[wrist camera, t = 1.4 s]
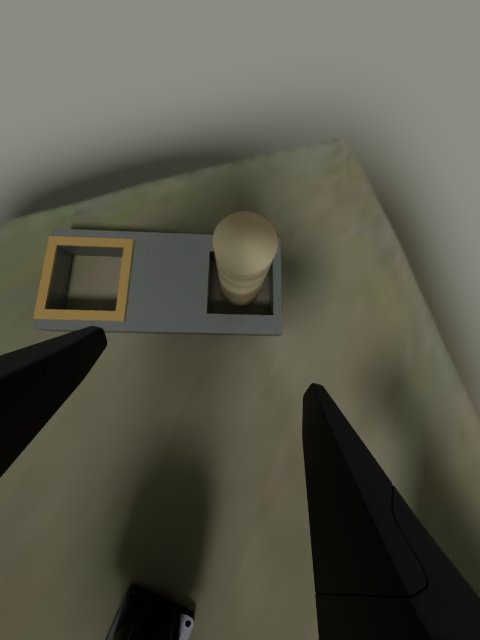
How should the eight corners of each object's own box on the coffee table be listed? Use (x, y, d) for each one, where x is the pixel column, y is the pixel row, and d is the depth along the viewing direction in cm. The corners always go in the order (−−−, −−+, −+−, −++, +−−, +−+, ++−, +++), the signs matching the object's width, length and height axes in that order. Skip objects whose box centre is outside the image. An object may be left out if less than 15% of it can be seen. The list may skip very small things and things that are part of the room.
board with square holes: (276, 246, 24) (281, 236, 22) (278, 335, 22) (282, 334, 20) (68, 239, 23) (50, 227, 21) (51, 331, 21) (31, 328, 19)
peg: (250, 312, 22) (263, 281, 13) (215, 298, 23) (201, 256, 13) (264, 279, 23) (287, 225, 13) (230, 265, 23) (228, 202, 13)
